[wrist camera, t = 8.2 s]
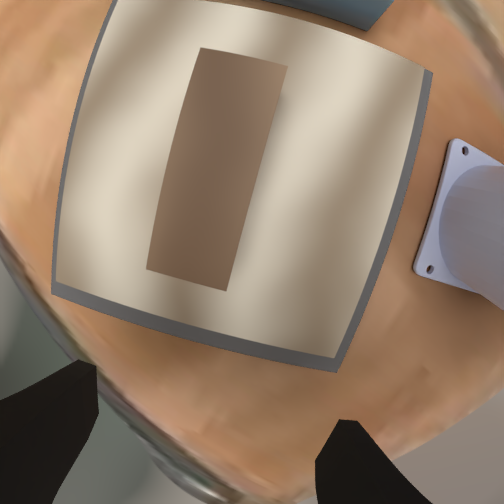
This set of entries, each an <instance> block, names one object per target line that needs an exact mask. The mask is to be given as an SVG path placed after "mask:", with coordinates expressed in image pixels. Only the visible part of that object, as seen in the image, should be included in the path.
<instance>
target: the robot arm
mask: <svg viewBox="0 0 504 504" xmlns="http://www.w3.org/2000/svg"><path fill="white" fill-rule="evenodd" d="M462 148H464V149H465V154H463V153H462ZM429 265H431V269H430V270H429V271H428V272H426V269H427V267H428V266H429ZM413 269H414V271H415V273H416V274H418V275H420V276H423V277H426V278H429V279H433V280H436V281H439V282H443V283H446V284H449V285H452V286H456V287H459V288H462V289H465V290H469V291H472V292H475V293H478V294H481V295H482V296H483V297H485V298H486V299H488V300H489V301H491V302H492V303H493V304H495V305H496V306H498V307H499V308H500V309H502V310H503V311H504V165H503V164H501V163H500V162H498V161H497V160H495V159H493V158H492V157H490V156H488V155H487V154H485V153H483V152H482V151H480V150H478V149H477V148H475V147H473V146H471V145H470V144H468V143H466V142H464V141H463V140H461V139H458V138H456V139H452V140H451V141H450V143H449V146H448V150H447V155H446V159H445V163H444V167H443V171H442V175H441V179H440V183H439V186H438V190H437V194H436V197H435V201H434V204H433V207H432V211H431V214H430V217H429V220H428V224H427V227H426V230H425V233H424V236H423V239H422V242H421V245H420V248H419V250H418V253H417V256H416V259H415V262H414V265H413ZM98 414H99V409H98V395H97V373H96V366H95V365H92V364H89V363H86V362H84V361H81V360H79V359H78V360H77V361H75V362H73V363H71V364H69V365H67V366H66V367H64V368H62V369H60V370H59V371H57V372H55V373H53V374H51V375H50V376H48V377H46V378H44V379H42V380H41V381H39V382H37V383H35V384H33V385H31V386H29V387H27V388H26V389H24V390H22V391H20V392H18V393H15V394H13V395H11V396H9V397H7V398H5V399H2V400H0V504H52V502H53V500H54V498H55V496H56V494H57V492H58V490H59V488H60V486H61V484H62V483H63V481H64V479H65V477H66V476H67V474H68V472H69V471H70V469H71V467H72V466H73V464H74V462H75V460H76V459H77V457H78V455H79V454H80V452H81V450H82V449H83V447H84V445H85V443H86V442H87V440H88V438H89V436H90V433H91V431H92V428H93V426H94V424H95V421H96V419H97V417H98ZM315 483H316V494H317V500H318V504H432V503H431V502H430V501H429V500H428V499H426V498H425V497H424V496H423V495H422V494H421V493H420V492H419V491H418V490H417V489H416V488H415V487H414V486H413V485H412V484H411V483H410V482H409V481H408V480H407V479H406V478H405V477H404V476H403V475H402V474H401V473H400V471H399V470H398V469H397V468H396V467H395V466H394V465H393V463H392V462H391V461H390V460H389V458H388V457H387V456H386V455H385V454H384V452H383V451H382V450H381V449H380V448H379V446H378V445H377V444H376V443H375V441H374V440H373V439H372V438H371V437H370V435H369V434H368V433H367V432H366V430H365V429H364V428H363V427H362V426H361V425H360V423H359V422H358V421H353V420H340V419H339V420H338V422H337V424H336V426H335V428H334V429H333V431H332V433H331V435H330V436H329V438H328V440H327V442H326V443H325V445H324V447H323V448H322V450H321V452H320V453H319V455H318V456H317V458H316V460H315Z"/></svg>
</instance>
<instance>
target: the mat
mask: <svg viewBox="0 0 504 504" xmlns="http://www.w3.org/2000/svg"><path fill="white" fill-rule="evenodd" d="M117 1H118V0H113V1H112V4H111V6H110V8H109V10H108V13H107V15H106V18H105V20H104V22H103V25H102V27H101V30H100V33H99V35H98V38H97V41H96V43H95V46H94V49H93V52H92V55H91V57H90V60H89V63H88V67H87V70H86V73H85V76H84V79H83V83H82V86H81V89H80V93H79V96H78V100H77V104H76V108H75V112H74V116H73V120H72V124H71V128H70V133H69V137H68V142H67V147H66V152H65V157H64V162H63V168H62V174H61V180H60V187H59V194H58V201H57V210H56V219H55V229H54V241H53V256H52V282H51V294H53V295H56V296H58V297H61V298H63V299H66V300H69V301H71V302H74V303H76V304H79V305H82V306H85V307H87V308H90V309H93V310H96V311H98V312H101V313H104V314H107V315H110V316H113V317H116V318H119V319H122V320H125V321H128V322H131V323H134V324H137V325H140V326H143V327H147V328H150V329H153V330H156V331H160V332H163V333H166V334H170V335H173V336H177V337H180V338H184V339H187V340H191V341H194V342H198V343H202V344H206V345H209V346H213V347H217V348H221V349H225V350H229V351H233V352H237V353H241V354H246V355H250V356H254V357H259V358H263V359H268V360H272V361H277V362H282V363H286V364H291V365H296V366H302V367H307V368H312V369H318V370H323V371H329V372H335V373H337V371H338V369H339V367H340V365H341V363H342V361H343V359H344V357H345V354H346V352H347V350H348V348H349V346H350V343H351V341H352V339H353V337H354V334H355V332H356V330H357V327H358V325H359V323H360V320H361V318H362V316H363V313H364V311H365V308H366V306H367V303H368V301H369V298H370V296H371V293H372V291H373V288H374V286H375V283H376V280H377V278H378V275H379V272H380V270H381V267H382V264H383V262H384V259H385V256H386V253H387V250H388V247H389V244H390V242H391V239H392V236H393V233H394V230H395V226H396V223H397V220H398V217H399V214H400V211H401V207H402V204H403V201H404V197H405V194H406V191H407V187H408V183H409V180H410V176H411V173H412V169H413V165H414V161H415V157H416V153H417V149H418V145H419V141H420V137H421V132H422V128H423V123H424V119H425V114H426V109H427V104H428V99H429V93H430V88H431V82H432V76H433V73H432V72H430V71H428V70H426V69H424V75H423V80H422V86H421V91H420V96H419V101H418V106H417V111H416V115H415V120H414V124H413V129H412V133H411V137H410V141H409V146H408V150H407V154H406V157H405V161H404V165H403V169H402V172H401V176H400V180H399V183H398V187H397V190H396V194H395V197H394V200H393V204H392V207H391V210H390V213H389V217H388V220H387V223H386V226H385V229H384V232H383V235H382V238H381V241H380V244H379V247H378V250H377V253H376V256H375V258H374V261H373V264H372V267H371V270H370V272H369V275H368V278H367V280H366V283H365V286H364V288H363V291H362V293H361V296H360V299H359V301H358V304H357V306H356V309H355V311H354V313H353V316H352V318H351V321H350V323H349V326H348V328H347V330H346V333H345V335H344V337H343V340H342V342H341V344H340V346H339V349H338V351H337V353H336V355H335V358H330V357H325V356H319V355H314V354H309V353H304V352H300V351H295V350H290V349H285V348H281V347H276V346H272V345H267V344H263V343H259V342H255V341H250V340H246V339H242V338H238V337H234V336H230V335H226V334H222V333H218V332H214V331H211V330H207V329H203V328H199V327H196V326H192V325H189V324H185V323H181V322H178V321H175V320H171V319H168V318H164V317H161V316H158V315H154V314H151V313H148V312H144V311H141V310H138V309H135V308H132V307H129V306H125V305H122V304H119V303H116V302H113V301H110V300H107V299H104V298H101V297H99V296H96V295H93V294H90V293H87V292H84V291H81V290H79V289H76V288H73V287H70V286H68V285H65V284H62V283H60V282H57V281H56V263H57V247H58V235H59V224H60V215H61V207H62V199H63V192H64V185H65V179H66V173H67V167H68V162H69V156H70V151H71V146H72V141H73V137H74V132H75V128H76V124H77V120H78V115H79V112H80V108H81V104H82V100H83V97H84V93H85V90H86V86H87V83H88V79H89V76H90V73H91V70H92V67H93V64H94V61H95V58H96V55H97V52H98V49H99V46H100V44H101V41H102V38H103V35H104V33H105V30H106V28H107V25H108V23H109V20H110V18H111V15H112V13H113V11H114V8H115V6H116V4H117Z"/></svg>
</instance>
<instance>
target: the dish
mask: <svg viewBox="0 0 504 504" xmlns="http://www.w3.org/2000/svg"><path fill="white" fill-rule="evenodd" d="M263 1H268V2H272V3H277V4H281V5H285V6H289V7H293V8H297V9H301V10H304V11H308V12H312V13H315V14H318V15H322V16H325V17H328V18H331V19H334V20H337V21H340V22H343V23H346V24H349V25H352V26H354V27H357V28H360V29H362V30H365V31H368V30H369V29H370V28H371V26H372V25H373V24H374V23H375V22H376V21H377V20H378V18H379V17H380V16H381V15H382V14H383V13H384V12H385V11H386V9H387V8H388V7H389V6H390V5H391V4H392V3H393V2H394V0H263Z"/></svg>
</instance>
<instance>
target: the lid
mask: <svg viewBox="0 0 504 504" xmlns="http://www.w3.org/2000/svg"><path fill="white" fill-rule="evenodd" d="M424 69H425V68H424V67H423V66H421V65H419V64H416V63H414V62H412V61H410V60H408V59H406V58H404V57H402V56H400V55H397V54H395V53H393V52H391V51H388V50H386V49H384V48H381V47H379V46H376V45H374V44H371V43H369V42H366V41H364V40H361V39H358V38H356V37H353V36H350V35H348V34H345V33H342V32H339V31H336V30H333V29H330V28H327V27H324V26H320V25H317V24H314V23H310V22H307V21H303V20H300V19H296V18H292V17H288V16H284V15H280V14H276V13H272V12H267V11H263V10H258V9H253V8H248V7H242V6H237V5H230V4H224V3H217V2H210V1H201V0H118V1H117V4H116V6H115V8H114V11H113V13H112V15H111V18H110V20H109V23H108V25H107V28H106V30H105V33H104V35H103V38H102V41H101V44H100V46H99V49H98V52H97V55H96V58H95V61H94V64H93V67H92V70H91V73H90V76H89V79H88V83H87V86H86V90H85V93H84V97H83V100H82V104H81V108H80V112H79V115H78V120H77V124H76V128H75V132H74V137H73V141H72V146H71V151H70V156H69V162H68V167H67V173H66V179H65V185H64V192H63V199H62V207H61V215H60V224H59V235H58V247H57V263H56V281H57V282H60V283H62V284H65V285H68V286H70V287H73V288H76V289H79V290H81V291H84V292H87V293H90V294H93V295H96V296H99V297H101V298H104V299H107V300H110V301H113V302H116V303H119V304H122V305H125V306H129V307H132V308H135V309H138V310H141V311H144V312H148V313H151V314H154V315H158V316H161V317H164V318H168V319H171V320H175V321H178V322H181V323H185V324H189V325H192V326H196V327H199V328H203V329H207V330H211V331H214V332H218V333H222V334H226V335H230V336H234V337H238V338H242V339H246V340H250V341H255V342H259V343H263V344H267V345H272V346H276V347H281V348H285V349H290V350H295V351H300V352H304V353H309V354H314V355H319V356H325V357H330V358H335V355H336V353H337V351H338V349H339V346H340V344H341V342H342V340H343V337H344V335H345V333H346V330H347V328H348V326H349V323H350V321H351V318H352V316H353V313H354V311H355V309H356V306H357V304H358V301H359V299H360V296H361V293H362V291H363V288H364V286H365V283H366V280H367V278H368V275H369V272H370V270H371V267H372V264H373V261H374V258H375V256H376V253H377V250H378V247H379V244H380V241H381V238H382V235H383V232H384V229H385V226H386V223H387V220H388V217H389V213H390V210H391V207H392V204H393V200H394V197H395V194H396V190H397V187H398V183H399V180H400V176H401V172H402V169H403V165H404V161H405V157H406V154H407V150H408V146H409V141H410V137H411V133H412V129H413V124H414V120H415V115H416V111H417V106H418V101H419V96H420V91H421V86H422V80H423V75H424Z"/></svg>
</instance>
